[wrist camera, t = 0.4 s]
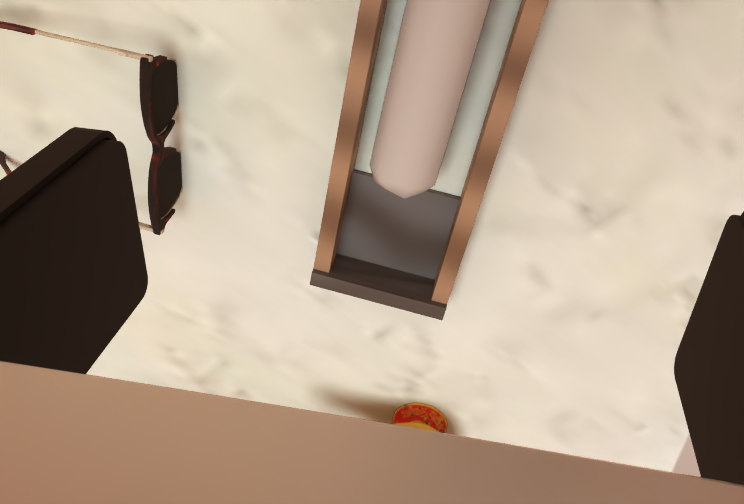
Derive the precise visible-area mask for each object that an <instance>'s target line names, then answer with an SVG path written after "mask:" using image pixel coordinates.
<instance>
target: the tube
mask: <svg viewBox="0 0 744 504" xmlns="http://www.w3.org/2000/svg"><path fill="white" fill-rule="evenodd" d="M489 3H490V0H407V3H406V7H405V11H404V16H403V20H402V25H401V29H400V33H399V38H398V42H397V46H396V51H395V55H394V60H393V64H392V68H391V73H390V77H389V82H388V86H387V90H386V95H385V99H384V104H383V108H382V112H381V117H380V121H379V125H378V130H377V134H376V139H375V143H374V147H373V152H372V156H371V161H370V167H371V171H372V174H373V178H374V181H375V182H376V183H377V184H379V185H380V186H382V187H383V188H385V189H386V190H388V191H390V192H392V193H394V194H396V195H398V196H400V197H402V198H404V199H405V198H408V197H411V196H414V195H417V194H420V193H423V192H425V191H426V190H428V189H429V188H431V187H433V186H434V185H435V183H436V180H437V176H438V173H439V170H440V166H441V163H442V160H443V156H444V153H445V150H446V146H447V143H448V140H449V136H450V133H451V130H452V126H453V123H454V120H455V116H456V113H457V110H458V106H459V103H460V100H461V96H462V93H463V90H464V86H465V83H466V80H467V76H468V73H469V70H470V66H471V63H472V60H473V56H474V53H475V50H476V46H477V43H478V40H479V36H480V33H481V30H482V26H483V23H484V20H485V16H486V13H487V10H488V6H489Z"/></svg>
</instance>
